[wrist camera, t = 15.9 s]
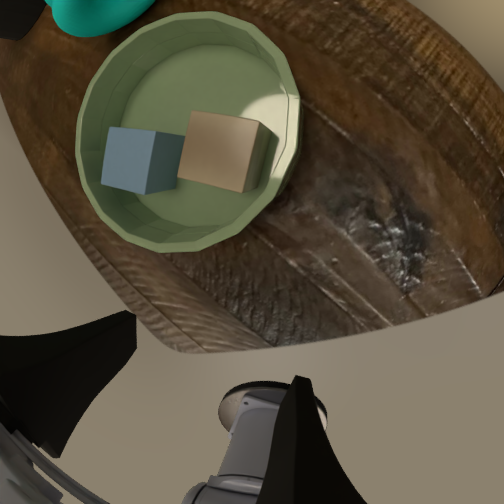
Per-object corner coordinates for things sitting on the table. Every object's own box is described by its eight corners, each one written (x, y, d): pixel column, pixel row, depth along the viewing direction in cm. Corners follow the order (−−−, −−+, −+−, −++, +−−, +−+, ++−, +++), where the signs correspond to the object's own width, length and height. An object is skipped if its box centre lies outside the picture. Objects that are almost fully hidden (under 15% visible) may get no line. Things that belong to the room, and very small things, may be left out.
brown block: (257, 188, 18) (242, 193, 14) (203, 174, 18) (176, 177, 15) (272, 130, 16) (260, 121, 13) (216, 119, 17) (191, 109, 13)
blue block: (175, 188, 19) (144, 195, 15) (133, 178, 20) (100, 184, 16) (186, 136, 18) (156, 131, 14) (142, 130, 18) (109, 126, 15)
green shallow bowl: (272, 258, 20) (258, 287, 15) (106, 206, 22) (66, 217, 17) (326, 56, 14) (328, 23, 10) (141, 43, 16) (105, 25, 12)
